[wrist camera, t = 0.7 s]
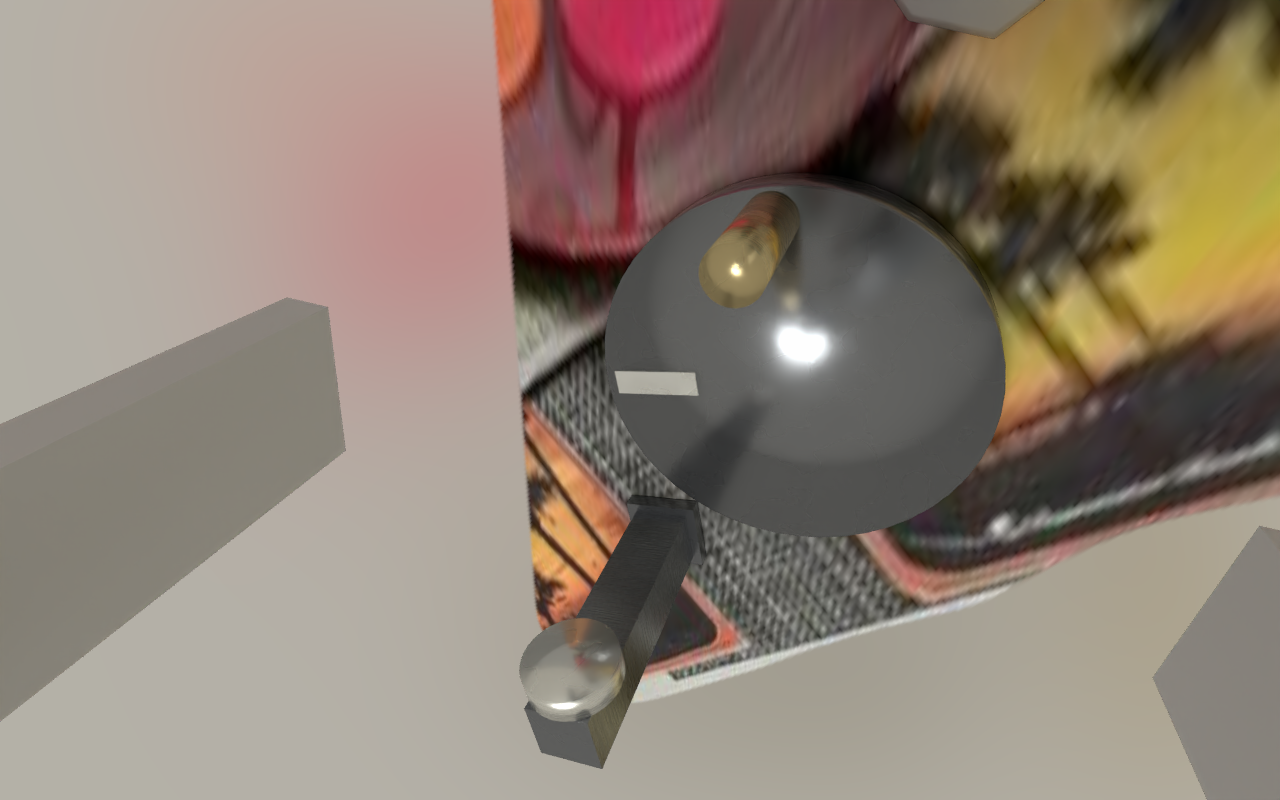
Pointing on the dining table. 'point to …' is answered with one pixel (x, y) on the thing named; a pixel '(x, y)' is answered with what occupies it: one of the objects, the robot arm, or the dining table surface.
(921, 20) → the flask
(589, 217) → the dining table surface
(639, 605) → the post
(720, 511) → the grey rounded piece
